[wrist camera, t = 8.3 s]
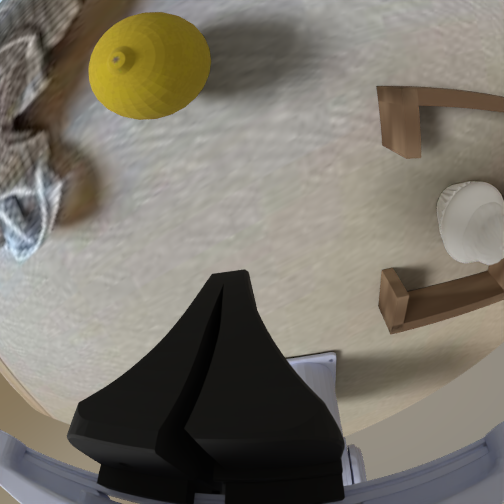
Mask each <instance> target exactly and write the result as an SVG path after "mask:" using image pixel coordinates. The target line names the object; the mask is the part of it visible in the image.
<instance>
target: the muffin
mask: <svg viewBox="0 0 504 504" xmlns="http://www.w3.org/2000/svg"><path fill="white" fill-rule="evenodd" d="M437 202H438V203H437V208H436V210H437V217H438V223H439V231H440V233H441V238H442V239H443V243H444V246H445V249H446V251H447V252H448V254H449V255H450V256H451V257H452V258H453V259H455V260H456V261H458V262H461V263H472V262H478V261H479V262H481V263H483V264H485V265H492V264H494V263H498V262H499V261H500V260H501V259H503V258H504V200H503V197H502V195H501V194H500V192H499V191H498V190H497V189H496V188H495V187H494V186H493V185H491V184H489V183H486V182H476V181H472V182H470V181H468V182H464V183H459V184H454V185H451V186H449V187H447V188H446V190H443V192H442V193H441V195H440V196H439V200H438V201H437Z"/></svg>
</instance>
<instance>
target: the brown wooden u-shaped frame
mask: <svg viewBox="0 0 504 504" xmlns="http://www.w3.org/2000/svg"><path fill="white" fill-rule="evenodd" d="M376 87H377V94H378V102H379V111H380V121H381V132H382V145H383V146H385V147H386V148H388V149H390V150H392V151H394V152H396V153H397V154H399V155H401V156H403V157H404V158H406V159H410V158H421V133H420V116H419V106H445V107H460V108H472V109H482V110H490V111H498V112H504V97H501V96H496V95H490V94H484V93H478V92H471V91H463V90H454V89H444V88H431V87H412V86H376ZM503 200H504V199H503ZM501 300H504V258H503V259H501V260H500V261H499V262H498V263H494V264H492V265H489V268H488V271H486V272H482V273H479V274H475V275H472V276H468V277H464V278H461V279H457V280H453V281H449V282H445V283H442V284H438V285H433V286H429V287H425V288H421V289H417V290H413V291H408V292H407V291H406V289H405V287H404V286H403V284H402V282H401V281H400V279H399V277H398V276H397V274H396V272H395V271H394V269H393V268H390V269H384V270H382V274H381V285H380V295H379V305H378V306H379V309H380V311H381V313H382V316H383V318H384V320H385V322H386V325H387V327H388V329H389V332H390V334H395V333H399V332H403V331H407V330H410V329H414V328H418V327H422V326H425V325H429V324H432V323H436V322H439V321H442V320H446V319H449V318H452V317H455V316H459V315H462V314H465V313H468V312H471V311H474V310H476V309H479V308H482V307H485V306H488V305H490V304H493V303H496V302H498V301H501Z"/></svg>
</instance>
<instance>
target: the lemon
mask: <svg viewBox="0 0 504 504" xmlns="http://www.w3.org/2000/svg"><path fill="white" fill-rule="evenodd" d="M210 65H211V57H210V50H209V47H208V44H207V42H206V40H205V38H204V36H203V35H202V34H201V32H200V31H199V30H198V29H197V28H196V27H195V26H194V25H193V24H191V23H190V22H188V21H186V20H185V19H183V18H181V17H179V16H175V15H172V14H167V13H163V12H150V13H141V14H137V15H134V16H130V17H128V18H125V19H124V20H122V21H120V22H118V23H116V24H115V25H114V26H112V27H111V28H110V29H109V30H108V31H107V32H106V33H105V34H104V35H103V36H102V37H101V39H100V40H99V41H98V43H97V44H96V46H95V48H94V50H93V53H92V55H91V59H90V64H89V80H90V84H91V87H92V90H93V92H94V94H95V95H96V97H97V99H98V100H99V101H100V102H101V103H102V104H103V105H104V106H105V107H106V108H107V109H109V110H111V111H113V112H115V113H117V114H119V115H121V116H123V117H128V118H133V119H139V120H143V119H158V118H161V117H164V116H168V115H171V114H173V113H175V112H177V111H179V110H181V109H182V108H184V107H186V106H187V105H188V104H189V103H190V102H191V101H193V100H194V99H195V98H196V97H197V96H198V94H199V93H200V91H201V90H202V89H203V87H204V86H205V83H206V81H207V78H208V76H209V72H210Z"/></svg>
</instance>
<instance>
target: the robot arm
mask: <svg viewBox="0 0 504 504" xmlns="http://www.w3.org/2000/svg"><path fill="white" fill-rule="evenodd" d="M335 380H336V353H335V352H329V353H323V354H317V355H311V356H304V357H297V358H290V359H286V358H285V357H284V356H283V354H282V353H281V351H280V350H279V348H278V347H277V345H276V344H275V342H274V341H273V339H272V338H271V336H270V334H269V332H268V331H267V329H266V327H265V325H264V323H263V321H262V319H261V317H260V315H259V313H258V311H257V307H256V302H255V298H254V294H253V289H252V285H251V281H250V276H249V272H248V271H246V270H237V271H230V272H223V273H215V274H212V275H211V276H210V278H209V279H208V280H207V282H206V283H205V285H204V286H203V288H202V289H201V291H200V292H199V293H198V295H197V296H196V298H195V299H194V301H193V302H192V303H191V305H190V306H189V307H188V309H187V310H186V312H185V313H184V314H183V315H182V317H181V318H180V319H179V320H178V322H177V323H176V324H175V325H174V327H173V328H172V329H171V330H170V331H169V333H168V334H167V335H166V336H165V337H164V338H163V339H162V340H161V341H160V342H159V343H158V344H157V345H156V346H155V347H154V348H153V349H152V350H151V351H150V352H149V353H148V354H147V355H146V356H145V357H143V358H142V359H141V360H140V361H139V362H138V363H137V364H135V365H134V366H133V367H132V368H131V369H129V370H128V371H127V372H126V373H124V374H123V375H122V376H120V377H119V378H118V379H116V380H115V381H113V382H112V383H110V384H109V385H107V386H106V387H104V388H103V389H101V390H100V391H98V392H96V393H95V394H93V395H91V396H89V397H88V398H86V399H84V400H82V401H81V402H79V404H78V406H77V409H76V411H75V414H74V417H73V420H72V422H71V425H70V428H69V431H68V434H67V438H68V440H69V442H70V443H71V444H72V445H73V446H74V447H75V448H77V449H78V450H79V451H81V452H83V453H84V454H86V455H87V456H89V457H90V458H92V459H94V460H95V461H97V462H98V463H100V464H101V467H100V471H99V474H96V473H93V472H90V471H86V470H83V469H80V468H77V467H74V466H72V465H68V464H66V463H64V462H61V461H58V460H56V459H53V458H51V457H49V456H46V455H44V454H42V453H39V452H37V451H35V450H33V449H30V448H28V447H26V445H25V444H23V443H22V442H21V441H19V440H17V439H16V438H15V437H13V436H11V435H10V434H8V433H6V432H4V431H2V430H0V486H1V487H2V488H3V489H5V490H6V491H7V492H8V493H9V494H10V495H12V496H13V497H14V498H15V499H16V500H17V501H18V502H19V503H21V504H121V503H118V502H115V501H112V500H110V498H109V497H108V495H109V496H112V497H116V498H120V499H123V500H127V501H131V502H135V503H140V504H502V503H503V502H504V421H503V422H501V423H500V424H498V425H497V426H496V427H494V428H493V429H492V430H491V431H490V432H488V433H487V435H486V436H485V437H484V438H482V439H480V440H478V441H476V442H474V443H472V444H470V445H468V446H466V447H464V448H462V449H459V450H457V451H455V452H453V453H450V454H448V455H446V456H443V457H441V458H438V459H436V460H433V461H431V462H428V463H425V464H423V465H420V466H417V467H414V468H412V469H408V470H405V471H402V472H399V473H395V474H392V475H389V476H385V477H382V478H378V479H374V480H370V481H367V480H366V473H365V466H364V461H363V456H362V453H361V450H360V449H359V448H358V447H356V446H355V445H354V444H351V445H348V452H347V447H346V440H345V437H343V433H342V427H341V421H340V415H339V410H338V404H337V398H336V393H335Z"/></svg>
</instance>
